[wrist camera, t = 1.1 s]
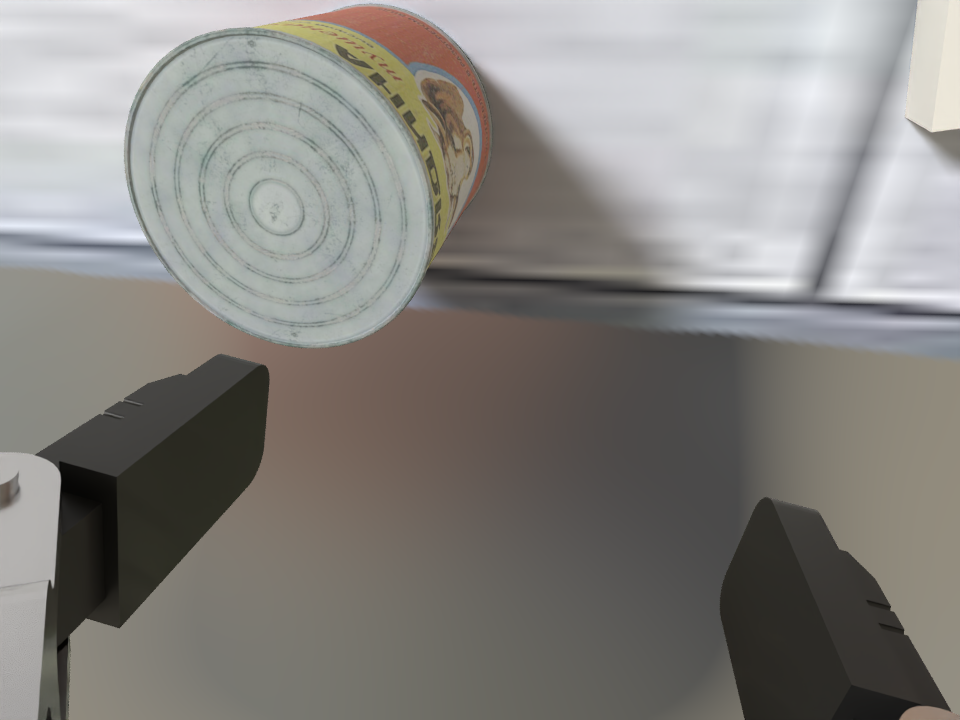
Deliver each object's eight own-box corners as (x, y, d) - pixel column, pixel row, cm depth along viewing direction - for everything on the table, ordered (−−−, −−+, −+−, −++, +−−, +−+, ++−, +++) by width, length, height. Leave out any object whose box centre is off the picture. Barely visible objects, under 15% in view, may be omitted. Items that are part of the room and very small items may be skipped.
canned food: (512, 223, 34) (465, 334, 24) (316, 251, 37) (203, 360, 27) (464, -23, 29) (379, -12, 19) (240, 33, 32) (64, 69, 22)
